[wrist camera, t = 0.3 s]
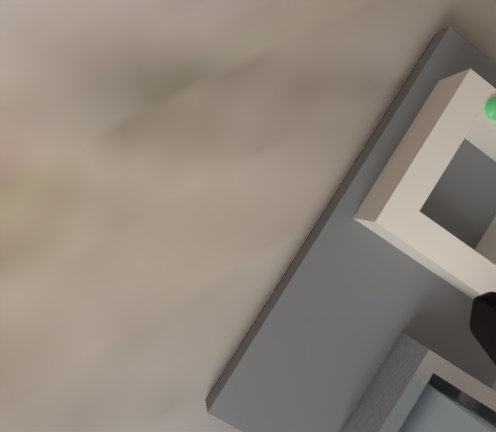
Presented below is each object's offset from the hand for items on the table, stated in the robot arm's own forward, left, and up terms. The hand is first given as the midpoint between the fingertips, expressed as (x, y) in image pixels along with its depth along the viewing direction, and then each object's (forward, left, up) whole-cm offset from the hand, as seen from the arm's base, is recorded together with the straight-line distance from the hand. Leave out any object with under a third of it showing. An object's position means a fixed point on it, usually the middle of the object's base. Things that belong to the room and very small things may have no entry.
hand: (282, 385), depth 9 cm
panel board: (-10, -5, -14) cm, 18 cm away
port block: (-8, -10, -12) cm, 18 cm away
